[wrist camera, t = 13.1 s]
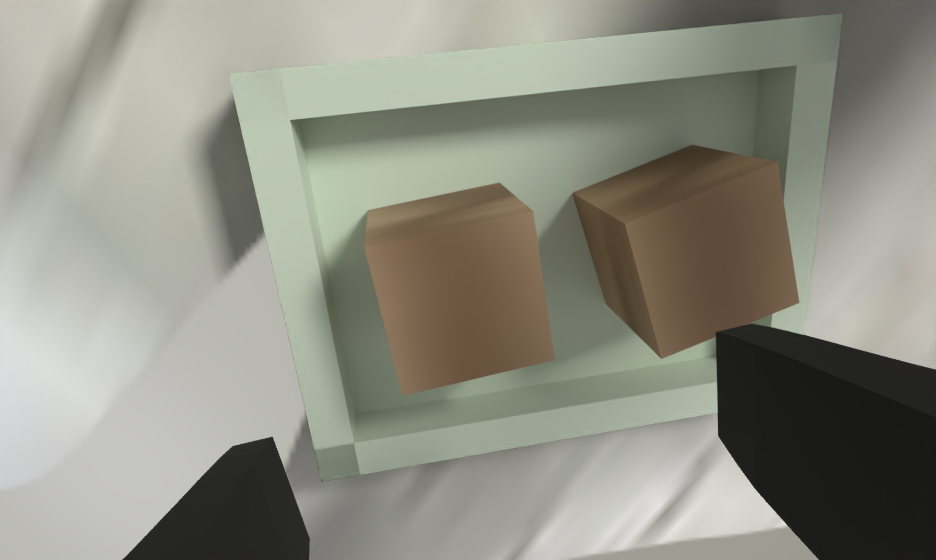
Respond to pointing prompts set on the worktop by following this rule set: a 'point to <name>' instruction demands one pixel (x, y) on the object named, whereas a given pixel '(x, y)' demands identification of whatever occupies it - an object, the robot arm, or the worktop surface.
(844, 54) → the worktop surface
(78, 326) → the worktop surface
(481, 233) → the block
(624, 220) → the block
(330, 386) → the tray
